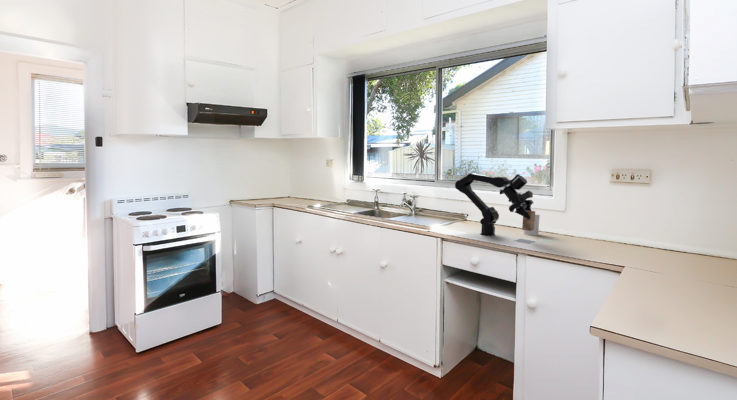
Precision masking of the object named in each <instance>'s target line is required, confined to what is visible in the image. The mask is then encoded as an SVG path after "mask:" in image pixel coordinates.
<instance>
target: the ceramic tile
mask: <svg viewBox="0 0 737 400" xmlns="http://www.w3.org/2000/svg"><path fill="white" fill-rule="evenodd" d="M536 241H537V243H538V242H540V243H548V244H554V241H555V240H553V239H546V238H545V239H544V238H537V240H536Z"/></svg>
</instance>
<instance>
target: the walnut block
mask: <svg viewBox="0 0 737 400" xmlns="http://www.w3.org/2000/svg"><path fill="white" fill-rule="evenodd" d="M526 211H527V213H528V215H529V216H530V219H527V218H526V217H524V216H522V229H521V230H522V231H523V230H528V231H532V230H534V223H535V213H536V211H535V210H532V211H528V210H526Z"/></svg>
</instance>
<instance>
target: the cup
mask: <svg viewBox="0 0 737 400" xmlns="http://www.w3.org/2000/svg"><path fill="white" fill-rule="evenodd" d="M540 215H541V214H540V213H536V212H535V223H534V230H532V231H528V230H522V231H523V232H522V233H523V235H527V236H539V230H540V229H539V227H540V226H539V225H540Z"/></svg>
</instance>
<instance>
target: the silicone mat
mask: <svg viewBox="0 0 737 400" xmlns="http://www.w3.org/2000/svg"><path fill="white" fill-rule="evenodd" d="M513 242H517V243H521V244H526V245H530V244H534V243H536V242H537V243H538V241H537V240H536V241H535V240H530V239H524V238H518V239H515V240H513Z"/></svg>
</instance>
